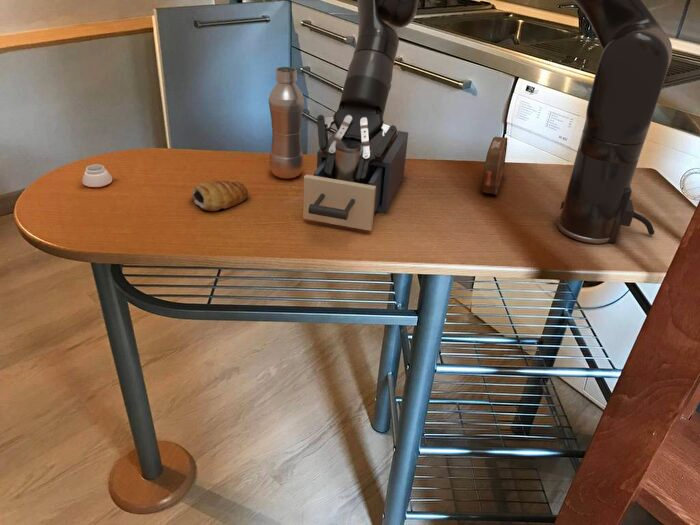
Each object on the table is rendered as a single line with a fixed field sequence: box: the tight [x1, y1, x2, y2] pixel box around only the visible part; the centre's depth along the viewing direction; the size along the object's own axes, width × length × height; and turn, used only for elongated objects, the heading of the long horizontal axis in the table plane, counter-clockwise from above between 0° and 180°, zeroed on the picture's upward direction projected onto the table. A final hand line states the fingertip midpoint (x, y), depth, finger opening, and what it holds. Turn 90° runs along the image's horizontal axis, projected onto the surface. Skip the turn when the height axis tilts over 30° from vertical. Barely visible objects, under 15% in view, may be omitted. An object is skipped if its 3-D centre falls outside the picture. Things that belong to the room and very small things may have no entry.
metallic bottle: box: [268, 66, 305, 179], centre depth 113 cm, size 6×7×20 cm
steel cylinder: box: [334, 139, 362, 183], centre depth 101 cm, size 4×4×10 cm
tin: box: [481, 136, 508, 196], centre depth 118 cm, size 15×3×8 cm, turn 161°
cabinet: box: [316, 128, 409, 214], centre depth 113 cm, size 16×13×9 cm
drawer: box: [302, 158, 385, 232], centre depth 103 cm, size 20×12×8 cm, turn 165°
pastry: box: [191, 179, 249, 212], centre depth 107 cm, size 9×7×4 cm
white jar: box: [81, 163, 113, 188], centre depth 110 cm, size 5×3×5 cm
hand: (344, 180), depth 100 cm, fingers closed on steel cylinder, 4 cm apart
